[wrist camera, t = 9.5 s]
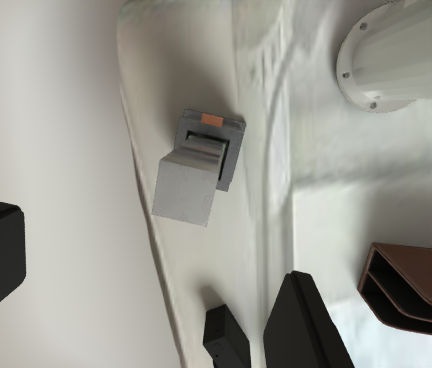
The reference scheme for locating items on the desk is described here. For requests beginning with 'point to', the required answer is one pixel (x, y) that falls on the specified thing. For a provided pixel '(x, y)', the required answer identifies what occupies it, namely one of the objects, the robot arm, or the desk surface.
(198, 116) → the stand base
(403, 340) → the desk surface
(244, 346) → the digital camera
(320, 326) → the robot arm
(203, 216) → the column
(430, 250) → the letter holder
